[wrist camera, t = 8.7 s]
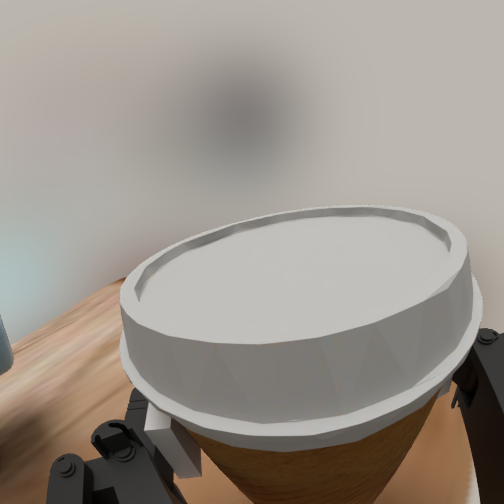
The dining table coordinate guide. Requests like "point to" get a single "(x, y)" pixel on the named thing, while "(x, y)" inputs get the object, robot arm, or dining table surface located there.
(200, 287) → the disposable coffee cup
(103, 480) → the robot arm
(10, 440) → the dining table surface
